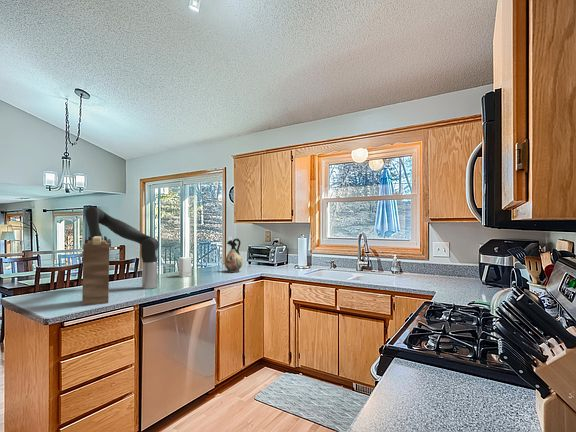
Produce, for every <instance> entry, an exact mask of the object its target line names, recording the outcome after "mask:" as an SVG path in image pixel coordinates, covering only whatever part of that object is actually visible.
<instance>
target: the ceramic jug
mask: <svg viewBox="0 0 576 432" xmlns="http://www.w3.org/2000/svg"><path fill="white" fill-rule="evenodd" d="M236 242H237V243H238V244H237V243H236ZM226 244H227V245H229V246H231V248H230V250H229V252H228V253H227V255H226V256H225V259H224V266H225V268H226V270H227V271H228V273H239V272H240V270H241V268H242V266H243V258H242V257H241V254H240V251H239V250H240V247H241V239H239V238H233V239H230V240H229V241H227V242H226ZM236 247H237V248H236Z"/></svg>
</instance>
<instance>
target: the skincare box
mask: <svg viewBox="0 0 576 432" xmlns="http://www.w3.org/2000/svg"><path fill="white" fill-rule="evenodd" d="M178 277H180V278H187V277H192V256H191V257H190V256H183V257H178Z"/></svg>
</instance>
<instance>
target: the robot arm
mask: <svg viewBox="0 0 576 432" xmlns="http://www.w3.org/2000/svg"><path fill="white" fill-rule="evenodd" d="M84 216H85V219H86V222H87V223H86V224H87V227H88V231H89V236H88V238H87V239H85V240H84V244H85V243H87V242H88V241H92V240H93V237H94V236H102V239H101V241H102V240H106V243H109V248H111V247H112V242H111V239H110V238H108V237H107V236H106V235H104V236H103V235H102V233H101V229H100V225H102V226H104V227H106V228H107V229H109V231H111V232H113V233H114V234H115V235H116V236H119V237H121V238H123V239H125V240H127V241H132V242H135V243H138V244H139V245H140V255H141V260H142V262H141V263H142V264H141V270H142V273H141V274H142V275H141V276H142V277H141V289H146V290H147V289H150V290H151V289H157V288H158V279H159V278H158V257H157V254H156V251H157V250H158V249H159V247H160V242H159V241H158V240H157V239H156V238H155V237H152V236H150V235H147V234H145V233H143V232H141V231H140V230H138V229H137V228H135V227H133V226H131V225H130V224H129V223H126V222H124V221H122V220H120V219H117V218H115V217H113V216H110V215H109V214H108V213H106V212H105V211H104V210H102V209H100V208H99V207H95V206H89V207H88V208H86V210H85V213H84ZM99 224H100V225H99Z"/></svg>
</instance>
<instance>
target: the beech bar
mask: <svg viewBox="0 0 576 432" xmlns="http://www.w3.org/2000/svg"><path fill="white" fill-rule="evenodd" d="M102 238H103V235H102V236H94V237H93V242H92V245H100V244H101V239H102Z"/></svg>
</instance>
